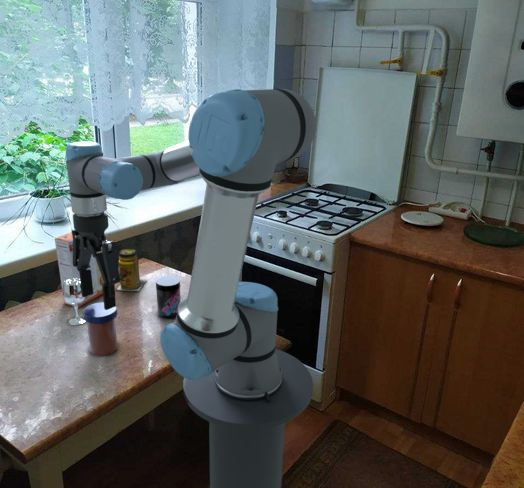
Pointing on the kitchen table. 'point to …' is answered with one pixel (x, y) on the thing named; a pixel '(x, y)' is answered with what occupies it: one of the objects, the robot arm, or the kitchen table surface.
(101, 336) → the jar
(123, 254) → the condiment
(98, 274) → the cracker box
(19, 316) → the kitchen table surface
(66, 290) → the wineglass
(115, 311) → the lid
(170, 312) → the supplement container
